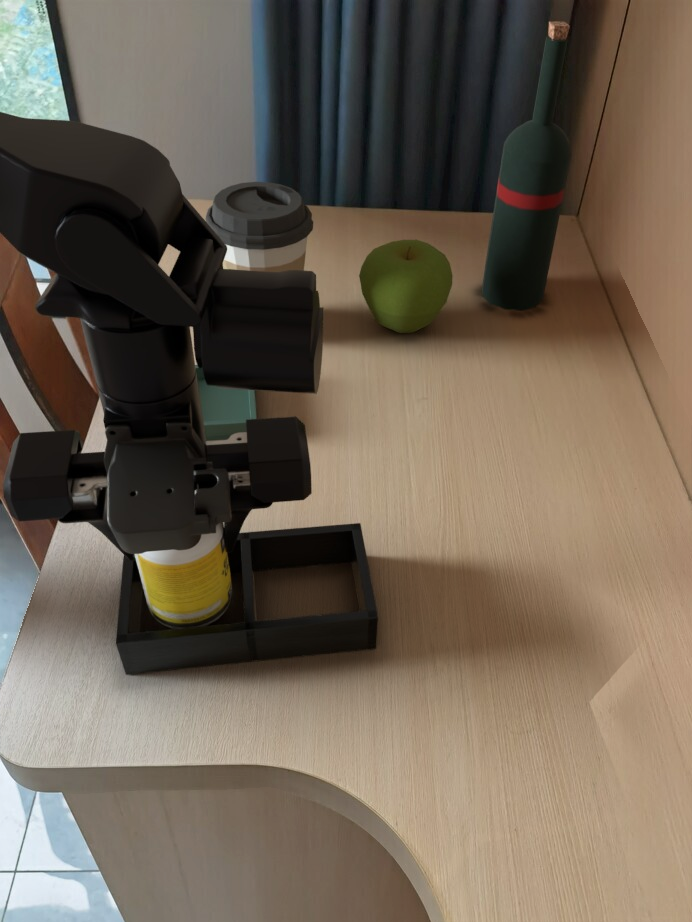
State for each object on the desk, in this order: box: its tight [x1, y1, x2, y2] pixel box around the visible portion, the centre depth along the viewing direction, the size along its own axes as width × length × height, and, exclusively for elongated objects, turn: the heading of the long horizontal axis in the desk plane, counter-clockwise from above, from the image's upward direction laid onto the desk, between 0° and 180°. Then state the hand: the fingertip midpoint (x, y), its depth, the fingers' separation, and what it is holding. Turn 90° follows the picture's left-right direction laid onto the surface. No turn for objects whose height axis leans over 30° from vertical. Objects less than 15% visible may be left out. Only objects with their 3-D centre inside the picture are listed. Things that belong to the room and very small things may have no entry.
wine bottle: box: [481, 21, 572, 311], centre depth 91 cm, size 8×10×30 cm
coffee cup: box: [204, 181, 314, 272], centre depth 88 cm, size 11×11×15 cm
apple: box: [358, 239, 453, 334], centre depth 91 cm, size 11×10×10 cm
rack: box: [115, 522, 379, 676], centre depth 63 cm, size 19×10×4 cm, turn 99°
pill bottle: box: [134, 522, 233, 629], centre depth 58 cm, size 6×6×12 cm
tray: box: [195, 364, 258, 441], centre depth 81 cm, size 10×10×2 cm
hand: (181, 552), depth 58 cm, fingers closed on pill bottle, 6 cm apart
